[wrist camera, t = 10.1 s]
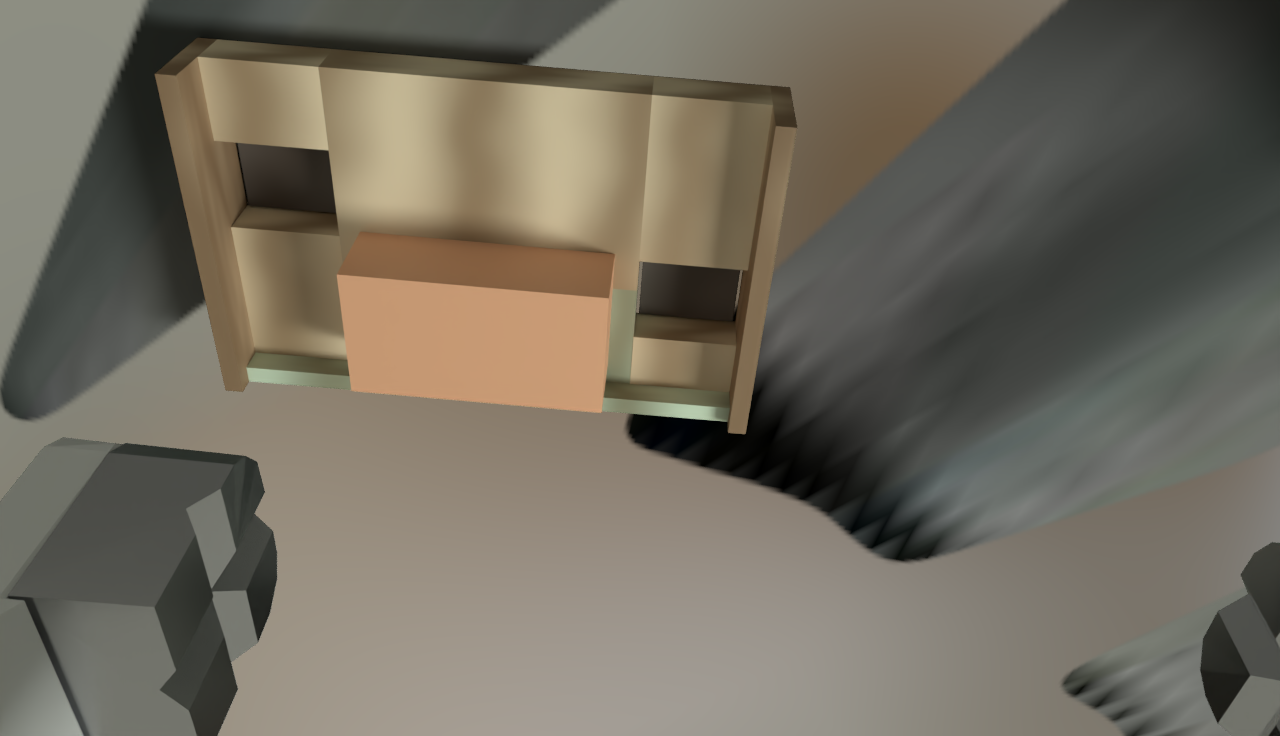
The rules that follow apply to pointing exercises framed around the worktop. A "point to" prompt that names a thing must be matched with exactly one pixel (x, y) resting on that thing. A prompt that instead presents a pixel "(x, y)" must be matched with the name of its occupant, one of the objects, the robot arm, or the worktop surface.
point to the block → (477, 321)
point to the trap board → (481, 200)
